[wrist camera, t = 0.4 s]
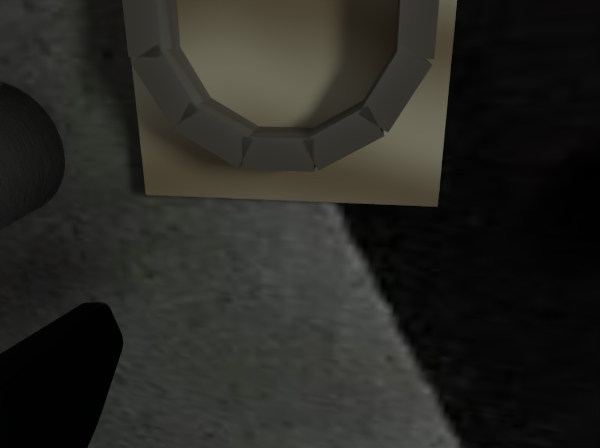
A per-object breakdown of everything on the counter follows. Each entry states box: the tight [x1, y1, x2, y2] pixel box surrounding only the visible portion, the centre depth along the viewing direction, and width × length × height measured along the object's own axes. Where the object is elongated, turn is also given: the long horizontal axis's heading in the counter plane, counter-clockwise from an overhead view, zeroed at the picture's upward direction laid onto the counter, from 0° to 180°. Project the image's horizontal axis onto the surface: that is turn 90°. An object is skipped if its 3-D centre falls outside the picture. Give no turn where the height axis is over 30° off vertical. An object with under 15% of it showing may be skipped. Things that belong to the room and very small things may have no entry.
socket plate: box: [122, 0, 457, 207], centre depth 19 cm, size 14×12×3 cm
